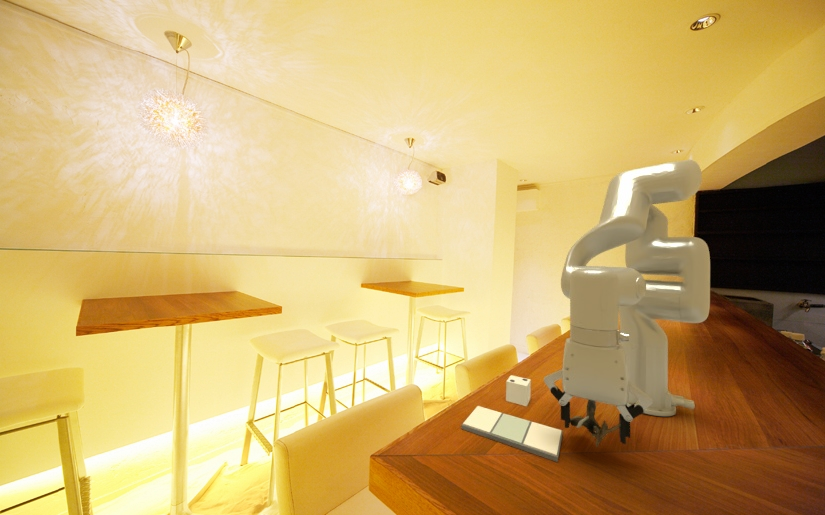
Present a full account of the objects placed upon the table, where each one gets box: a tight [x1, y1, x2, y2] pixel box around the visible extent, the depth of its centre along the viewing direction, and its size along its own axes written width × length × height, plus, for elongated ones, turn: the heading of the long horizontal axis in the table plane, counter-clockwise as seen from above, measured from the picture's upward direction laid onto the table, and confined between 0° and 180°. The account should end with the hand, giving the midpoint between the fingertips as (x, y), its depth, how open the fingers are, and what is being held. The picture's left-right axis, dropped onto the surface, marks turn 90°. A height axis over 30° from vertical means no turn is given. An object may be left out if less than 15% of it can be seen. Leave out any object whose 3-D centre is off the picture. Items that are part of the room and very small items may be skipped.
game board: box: [460, 405, 564, 463], centre depth 60 cm, size 18×10×1 cm, turn 58°
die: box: [505, 375, 532, 407], centre depth 74 cm, size 5×5×5 cm
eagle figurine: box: [570, 399, 621, 448], centre depth 55 cm, size 8×7×9 cm
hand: (593, 431), depth 53 cm, fingers closed on eagle figurine, 8 cm apart
